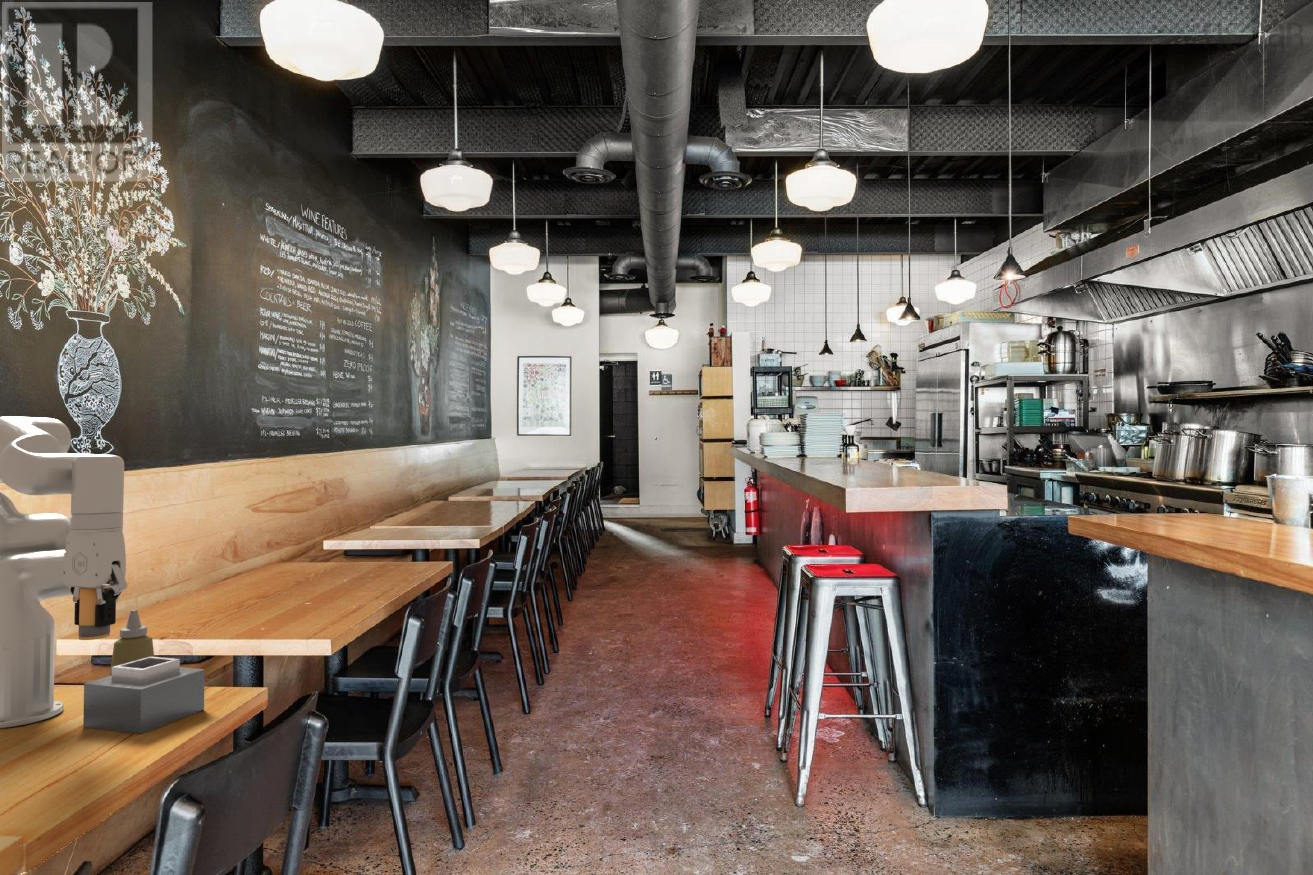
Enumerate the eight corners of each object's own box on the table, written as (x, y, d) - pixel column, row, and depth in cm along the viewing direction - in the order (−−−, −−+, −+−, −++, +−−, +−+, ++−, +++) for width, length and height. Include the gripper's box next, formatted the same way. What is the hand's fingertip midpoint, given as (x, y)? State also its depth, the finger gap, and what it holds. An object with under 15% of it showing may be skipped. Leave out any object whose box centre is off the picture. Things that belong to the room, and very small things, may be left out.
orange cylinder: (72, 638, 128) (73, 588, 128) (98, 633, 132) (99, 583, 132) (89, 641, 126) (90, 589, 126) (116, 635, 130) (117, 585, 131)
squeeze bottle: (130, 704, 146) (132, 615, 146) (98, 702, 147) (99, 613, 148) (165, 691, 154) (166, 607, 154) (134, 689, 155) (135, 606, 156)
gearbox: (83, 726, 133) (84, 669, 134) (150, 704, 146) (151, 651, 146) (140, 734, 129) (141, 675, 130) (204, 710, 142) (204, 656, 142)
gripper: (42, 523, 129) (39, 625, 128) (108, 526, 123) (106, 633, 123) (87, 520, 136) (84, 616, 135) (151, 522, 130) (149, 623, 130)
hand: (95, 623), depth 129 cm, fingers closed on orange cylinder, 4 cm apart
